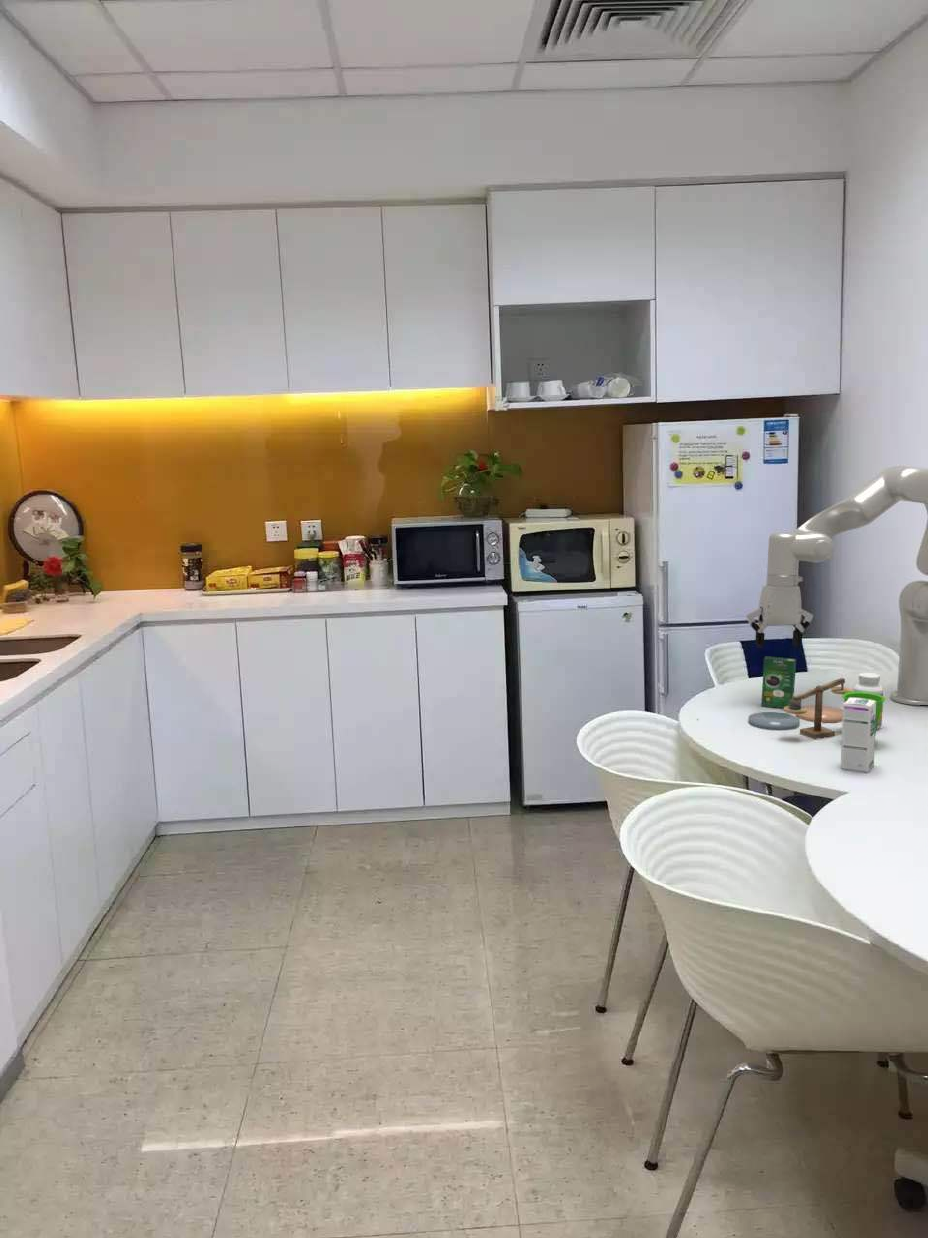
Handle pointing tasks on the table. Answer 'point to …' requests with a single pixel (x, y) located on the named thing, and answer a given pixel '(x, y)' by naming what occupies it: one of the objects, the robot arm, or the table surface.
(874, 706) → the syrup box
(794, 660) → the coffee box
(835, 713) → the dish
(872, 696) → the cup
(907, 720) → the table surface
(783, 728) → the dish
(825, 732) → the balance
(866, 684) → the supplement bottle
